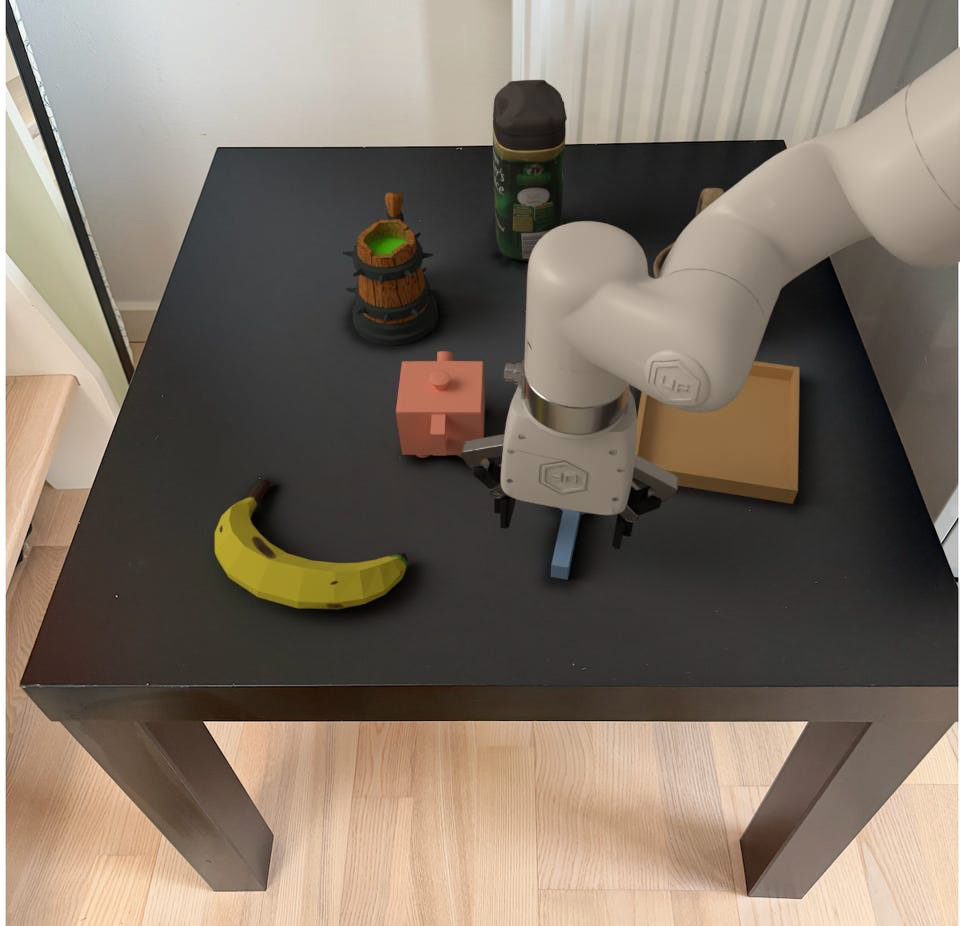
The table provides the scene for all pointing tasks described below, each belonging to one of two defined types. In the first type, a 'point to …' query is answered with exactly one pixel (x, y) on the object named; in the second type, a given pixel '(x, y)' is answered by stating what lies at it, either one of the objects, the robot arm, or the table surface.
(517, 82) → the coffee jar
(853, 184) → the robot arm
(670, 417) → the tray
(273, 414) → the table surface
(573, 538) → the blue paddle
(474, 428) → the pink cube teapot
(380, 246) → the mug
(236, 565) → the banana
